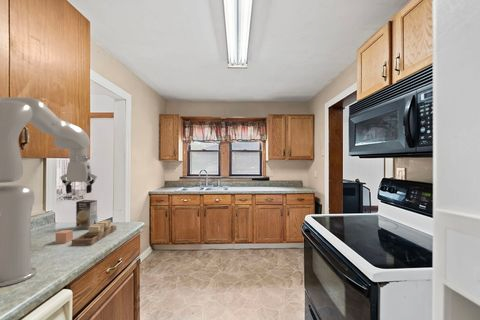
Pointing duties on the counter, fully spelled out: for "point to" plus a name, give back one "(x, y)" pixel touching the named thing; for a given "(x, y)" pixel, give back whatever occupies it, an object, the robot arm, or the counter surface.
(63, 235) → the brick cube
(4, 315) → the counter surface
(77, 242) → the walnut tray
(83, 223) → the coffee box
